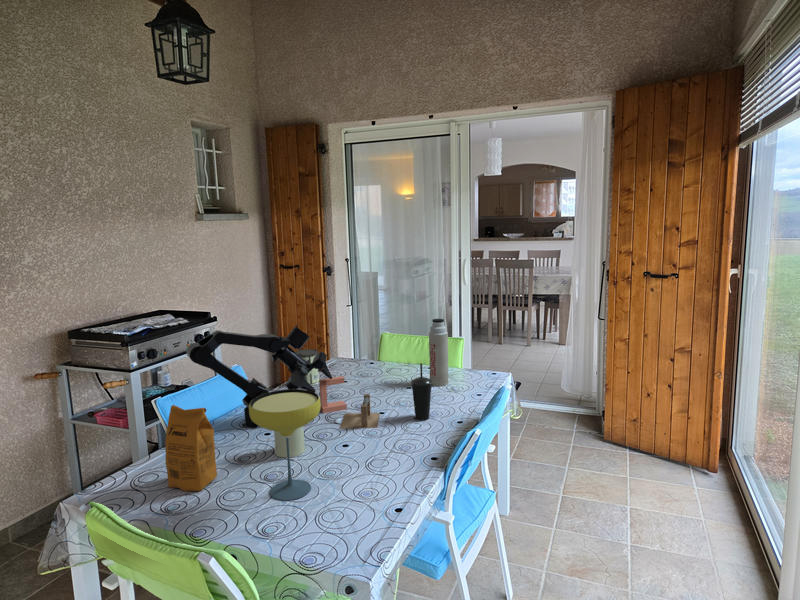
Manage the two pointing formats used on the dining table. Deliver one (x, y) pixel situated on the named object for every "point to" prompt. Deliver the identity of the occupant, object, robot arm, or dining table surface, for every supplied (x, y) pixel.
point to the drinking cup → (421, 396)
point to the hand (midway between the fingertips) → (323, 385)
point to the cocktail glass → (286, 428)
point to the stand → (361, 417)
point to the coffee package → (190, 449)
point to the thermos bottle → (438, 353)
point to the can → (290, 443)
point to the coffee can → (309, 355)
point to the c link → (323, 395)
